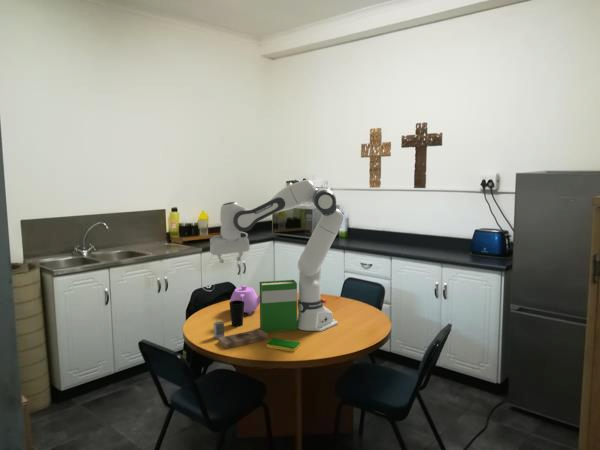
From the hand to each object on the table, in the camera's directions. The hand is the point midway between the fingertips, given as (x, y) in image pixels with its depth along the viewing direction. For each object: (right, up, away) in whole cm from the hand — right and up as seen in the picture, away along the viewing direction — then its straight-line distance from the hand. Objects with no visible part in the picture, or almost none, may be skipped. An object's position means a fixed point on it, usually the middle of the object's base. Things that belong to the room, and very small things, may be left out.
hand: (230, 261), depth 232 cm
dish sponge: (+27, -38, -21) cm, 51 cm away
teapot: (+5, -31, +28) cm, 42 cm away
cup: (+2, -34, +8) cm, 35 cm away
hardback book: (+24, -34, +2) cm, 42 cm away
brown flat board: (+8, -36, -14) cm, 40 cm away
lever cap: (-4, -36, -9) cm, 37 cm away
